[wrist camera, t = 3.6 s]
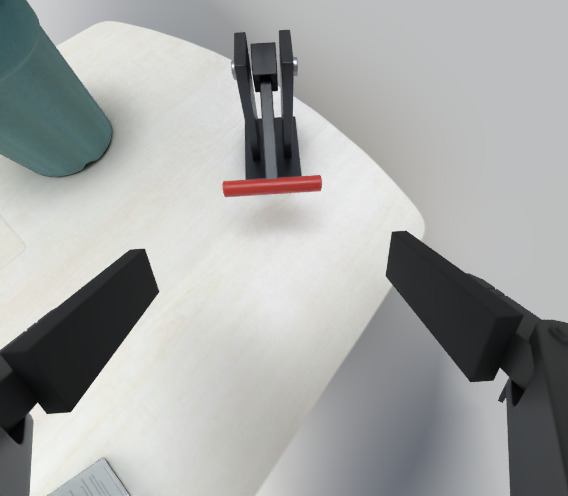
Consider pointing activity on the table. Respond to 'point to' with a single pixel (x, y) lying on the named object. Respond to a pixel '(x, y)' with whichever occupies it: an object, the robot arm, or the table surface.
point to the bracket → (283, 125)
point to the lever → (269, 134)
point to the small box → (93, 483)
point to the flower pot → (44, 100)
